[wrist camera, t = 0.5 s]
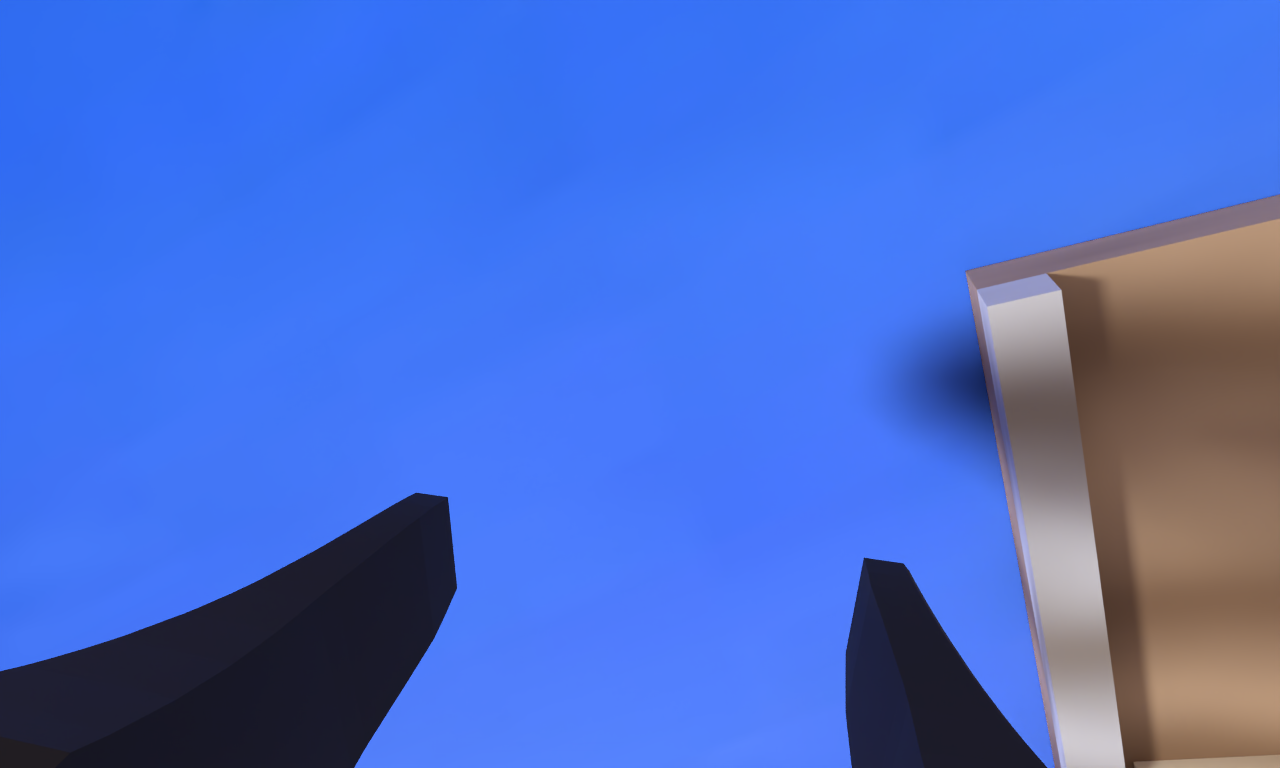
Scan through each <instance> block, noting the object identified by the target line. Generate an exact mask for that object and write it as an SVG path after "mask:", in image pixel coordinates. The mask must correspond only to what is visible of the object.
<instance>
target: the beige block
mask: <svg viewBox="0 0 1280 768" xmlns="http://www.w3.org/2000/svg"><path fill="white" fill-rule="evenodd" d="M1134 768H1280V755H1266V756H1245V757H1224V758H1203V759H1182V760H1162V761H1141V762H1134Z"/></svg>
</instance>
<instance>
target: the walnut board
mask: <svg viewBox="0 0 1280 768" xmlns="http://www.w3.org/2000/svg"><path fill="white" fill-rule="evenodd" d="M966 276H967V282H968V288H969V293H970V299H971V304H972V310H973V315H974V321H975V326H976V332H977V337H978V343H979V349H980V354H981V360H982V365H983V371H984V376H985V382H986V387H987V393H988V398H989V404H990V410H991V415H992V421H993V426H994V432H995V437H996V443H997V448H998V454H999V459H1000V465H1001V471H1002V476H1003V482H1004V487H1005V493H1006V498H1007V504H1008V509H1009V515H1010V520H1011V526H1012V532H1013V537H1014V543H1015V548H1016V554H1017V559H1018V565H1019V570H1020V576H1021V581H1022V587H1023V592H1024V598H1025V604H1026V609H1027V615H1028V620H1029V626H1030V631H1031V637H1032V642H1033V648H1034V653H1035V659H1036V665H1037V670H1038V676H1039V681H1040V687H1041V692H1042V698H1043V703H1044V709H1045V714H1046V720H1047V726H1048V731H1049V737H1050V742H1051V748H1052V753H1053V759H1054V764H1055V768H1134V762H1141V761H1162V760H1182V759H1203V758H1224V757H1245V756H1266V755H1280V195H1276V196H1272V197H1268V198H1264V199H1260V200H1256V201H1251V202H1247V203H1243V204H1239V205H1235V206H1231V207H1227V208H1223V209H1219V210H1214V211H1210V212H1206V213H1202V214H1198V215H1194V216H1190V217H1186V218H1181V219H1177V220H1173V221H1169V222H1165V223H1161V224H1157V225H1153V226H1149V227H1144V228H1140V229H1136V230H1132V231H1128V232H1124V233H1120V234H1116V235H1111V236H1107V237H1103V238H1099V239H1095V240H1091V241H1087V242H1083V243H1079V244H1074V245H1070V246H1066V247H1062V248H1058V249H1054V250H1050V251H1046V252H1041V253H1037V254H1033V255H1029V256H1025V257H1021V258H1017V259H1013V260H1009V261H1004V262H1000V263H996V264H992V265H988V266H984V267H980V268H976V269H971V270H967V271H966Z"/></svg>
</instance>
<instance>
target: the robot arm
mask: <svg viewBox="0 0 1280 768" xmlns="http://www.w3.org/2000/svg"><path fill="white" fill-rule="evenodd" d="M456 589H457V583H456V573H455V563H454V554H453V544H452V534H451V524H450V514H449V504H448V497H442V496H435V495H428V494H421V493H415V494H413V495H411V496H409V497H407V498H405V499H403V500H401V501H400V502H398V503H396V504H394V505H392V506H391V507H389V508H387V509H386V510H384V511H382V512H380V513H379V514H377V515H375V516H374V517H372V518H370V519H369V520H367V521H365V522H364V523H362V524H360V525H358V526H357V527H355V528H353V529H352V530H350V531H348V532H346V533H345V534H343V535H341V536H340V537H338V538H336V539H334V540H333V541H331V542H329V543H327V544H326V545H324V546H322V547H321V548H319V549H317V550H315V551H313V552H312V553H310V554H308V555H306V556H304V557H302V558H300V559H298V560H296V561H295V562H293V563H291V564H289V565H287V566H285V567H283V568H281V569H280V570H278V571H276V572H274V573H272V574H270V575H268V576H266V577H264V578H263V579H261V580H259V581H257V582H254V583H252V584H250V585H248V586H246V587H244V588H242V589H240V590H238V591H236V592H233V593H231V594H229V595H227V596H224V597H222V598H220V599H218V600H215V601H213V602H211V603H208V604H206V605H204V606H202V607H199V608H197V609H194V610H192V611H190V612H187V613H185V614H182V615H179V616H177V617H174V618H171V619H168V620H166V621H163V622H160V623H158V624H155V625H152V626H149V627H147V628H144V629H141V630H139V631H136V632H133V633H131V634H128V635H125V636H122V637H119V638H116V639H113V640H110V641H107V642H104V643H101V644H98V645H94V646H91V647H88V648H85V649H82V650H78V651H75V652H71V653H68V654H64V655H61V656H58V657H54V658H51V659H47V660H44V661H40V662H36V663H32V664H29V665H25V666H21V667H17V668H13V669H8V670H4V671H0V768H354V767H355V765H356V763H357V762H358V760H359V758H360V756H361V755H362V753H363V751H364V750H365V748H366V746H367V745H368V743H369V741H370V740H371V738H372V737H373V735H374V733H375V732H376V730H377V729H378V727H379V726H380V724H381V722H382V721H383V719H384V718H385V716H386V714H387V713H388V711H389V710H390V708H391V707H392V705H393V703H394V702H395V700H396V699H397V697H398V696H399V694H400V692H401V691H402V689H403V688H404V686H405V684H406V683H407V681H408V680H409V678H410V677H411V675H412V673H413V672H414V670H415V669H416V667H417V665H418V664H419V662H420V660H421V659H422V657H423V656H424V654H425V652H426V651H427V649H428V647H429V646H430V644H431V642H432V641H433V639H434V637H435V635H436V633H437V631H438V629H439V627H440V625H441V623H442V621H443V618H444V616H445V614H446V612H447V610H448V607H449V605H450V603H451V600H452V598H453V596H454V594H455V591H456ZM846 719H847V728H848V737H849V746H850V755H851V764H852V768H1047V767H1046V766H1045V765H1044V763H1043V762H1042V761H1041V760H1040V759H1039V758H1038V757H1037V755H1036V754H1035V753H1034V752H1033V751H1032V750H1031V749H1030V747H1029V746H1028V745H1027V744H1026V743H1025V742H1024V740H1023V739H1022V738H1021V737H1020V736H1019V734H1018V733H1017V732H1016V731H1015V729H1014V728H1013V727H1012V726H1011V724H1010V723H1009V722H1008V721H1007V719H1006V718H1005V717H1004V716H1003V714H1002V713H1001V712H1000V710H999V709H998V708H997V706H996V705H995V704H994V702H993V701H992V700H991V698H990V697H989V696H988V694H987V693H986V692H985V690H984V689H983V688H982V686H981V685H980V684H979V682H978V681H977V679H976V678H975V677H974V675H973V674H972V672H971V671H970V669H969V668H968V666H967V665H966V663H965V662H964V660H963V659H962V658H961V656H960V655H959V653H958V652H957V650H956V649H955V647H954V646H953V644H952V643H951V641H950V640H949V638H948V636H947V635H946V633H945V632H944V630H943V629H942V627H941V625H940V624H939V622H938V620H937V619H936V617H935V615H934V614H933V612H932V611H931V609H930V607H929V606H928V604H927V602H926V600H925V599H924V597H923V595H922V593H921V592H920V590H919V588H918V586H917V585H916V583H915V581H914V579H913V577H912V575H911V574H910V572H909V570H908V569H907V568H906V566H905V565H904V564H903V563H896V562H889V561H882V560H875V559H868V558H864V561H863V566H862V571H861V576H860V581H859V587H858V592H857V597H856V602H855V608H854V613H853V618H852V623H851V628H850V634H849V639H848V644H847V649H846Z"/></svg>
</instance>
